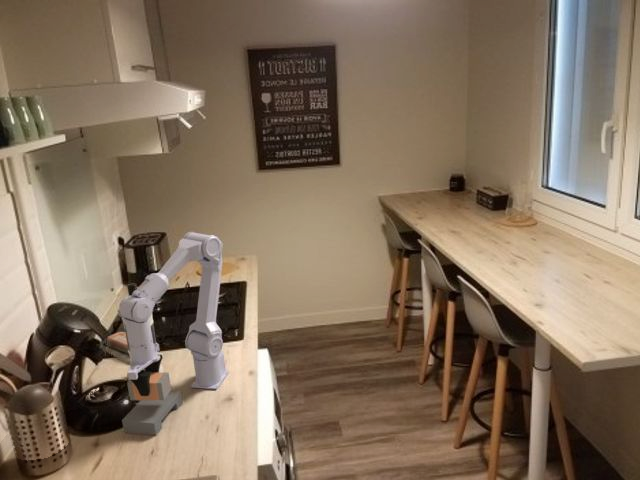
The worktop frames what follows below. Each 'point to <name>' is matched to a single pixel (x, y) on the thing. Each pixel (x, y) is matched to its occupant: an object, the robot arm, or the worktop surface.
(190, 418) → the worktop surface
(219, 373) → the robot arm
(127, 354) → the packaged product
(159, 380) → the block
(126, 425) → the stand
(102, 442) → the worktop surface
